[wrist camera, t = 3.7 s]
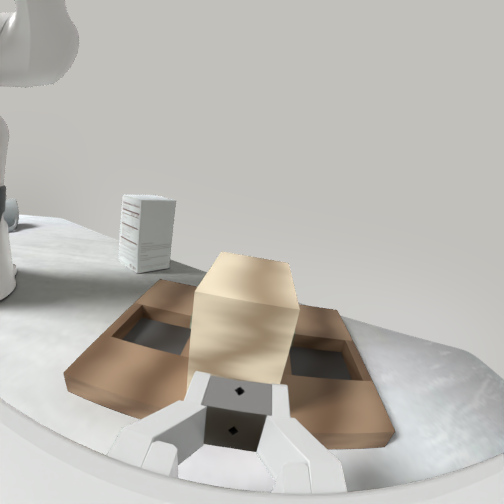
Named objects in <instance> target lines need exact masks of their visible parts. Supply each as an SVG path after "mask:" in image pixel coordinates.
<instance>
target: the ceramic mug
mask: <svg viewBox="0 0 504 504" xmlns="http://www.w3.org/2000/svg"><path fill="white" fill-rule="evenodd" d="M3 217H4V220H5V221H6V222H7V225H8V232H12V231H13V230H15V228H16V226H17V225H18V219H19V212H18V204H17V201H16V199H15V198H13V199H9V200H6V205H5V212H4V213H3Z"/></svg>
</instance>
